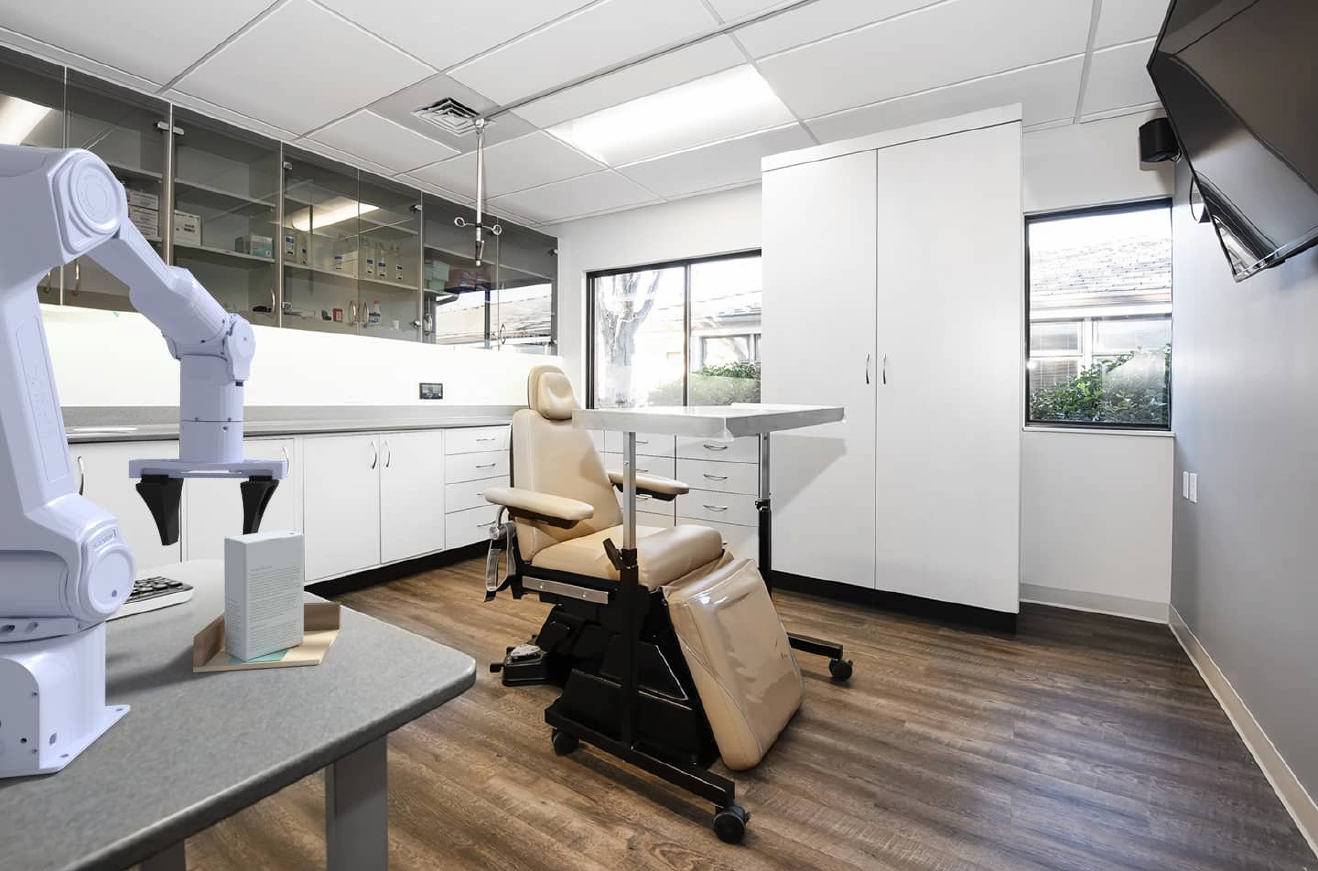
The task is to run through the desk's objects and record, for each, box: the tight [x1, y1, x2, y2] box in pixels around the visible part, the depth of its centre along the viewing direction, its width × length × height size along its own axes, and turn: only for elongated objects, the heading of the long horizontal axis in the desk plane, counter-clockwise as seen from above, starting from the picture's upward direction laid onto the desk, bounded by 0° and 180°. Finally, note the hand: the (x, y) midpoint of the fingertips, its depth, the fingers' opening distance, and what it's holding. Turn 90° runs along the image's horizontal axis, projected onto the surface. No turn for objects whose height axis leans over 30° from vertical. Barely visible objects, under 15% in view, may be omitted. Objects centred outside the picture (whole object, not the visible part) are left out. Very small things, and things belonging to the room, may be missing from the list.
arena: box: [192, 601, 342, 673], centre depth 66 cm, size 10×11×4 cm
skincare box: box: [223, 528, 305, 661], centre depth 65 cm, size 6×4×12 cm
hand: (210, 543), depth 69 cm, fingers open, 7 cm apart
